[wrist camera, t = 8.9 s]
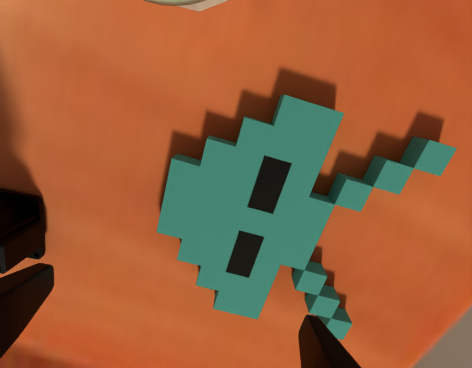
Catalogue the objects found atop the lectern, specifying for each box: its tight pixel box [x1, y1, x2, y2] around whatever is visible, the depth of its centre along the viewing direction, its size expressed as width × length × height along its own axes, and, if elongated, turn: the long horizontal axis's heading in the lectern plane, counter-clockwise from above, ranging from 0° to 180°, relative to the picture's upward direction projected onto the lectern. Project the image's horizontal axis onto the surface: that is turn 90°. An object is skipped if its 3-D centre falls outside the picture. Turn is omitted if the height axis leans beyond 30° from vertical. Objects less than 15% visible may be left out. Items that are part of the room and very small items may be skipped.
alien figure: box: [157, 95, 457, 340], centre depth 21 cm, size 20×2×20 cm
